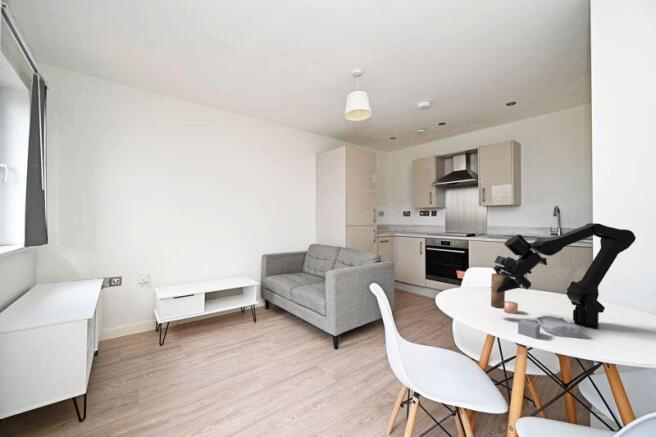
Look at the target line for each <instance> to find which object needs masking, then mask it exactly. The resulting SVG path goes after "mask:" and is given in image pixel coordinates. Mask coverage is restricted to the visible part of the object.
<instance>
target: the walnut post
mask: <svg viewBox="0 0 656 437" xmlns="http://www.w3.org/2000/svg"><path fill="white" fill-rule="evenodd" d="M504 281H505V275H503V274H497V273H496V272H493V273H491V282H490V283H491V286H490V289H491V290H490V292H491V293H490V296H491V297H490V306H491V307H492V308H495V309H500V310H501V309H502V310H504V308H505V300H506V298H505V297H506V296H505V295H506V293H505V292H506V291H504V292H500V293H498V292H497V291H496V290H497V289H498V288H499V286H500V285H501V284H502V283H503V282H504Z"/></svg>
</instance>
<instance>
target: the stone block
mask: <svg viewBox="0 0 656 437" xmlns="http://www.w3.org/2000/svg"><path fill="white" fill-rule="evenodd" d="M535 321H536V323H539V324H540V328H541V329H543V331H544V332H546V334H550V335H551V336H554V337H559V338H573V339H581V338H582V329H581V328H580V326H579V325H578V324H574V322H573V323H572V322H569V321H567V320H565V318H563V317H554V316H548V315H544V316H537V317H536V319H535Z"/></svg>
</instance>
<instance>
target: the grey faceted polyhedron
mask: <svg viewBox="0 0 656 437" xmlns="http://www.w3.org/2000/svg"><path fill="white" fill-rule="evenodd" d="M540 333H541V326H540V324H539V323H538V322H534V321H531V320H527V319H521V320H519V321H518V322H517V334H518V335H521V336H525V337H529V338H532V339H535V340H536V339H537V338H538V337H539V336H540V335H541V334H540Z"/></svg>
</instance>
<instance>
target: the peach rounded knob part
mask: <svg viewBox="0 0 656 437" xmlns="http://www.w3.org/2000/svg"><path fill="white" fill-rule="evenodd" d="M518 310H519V307H518V303H517V302H515V301H511V300H506V301H505V308H504V309H503V312H504V313H507V314H509V315H510V314H511V315H517V314H519V312H518Z"/></svg>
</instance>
